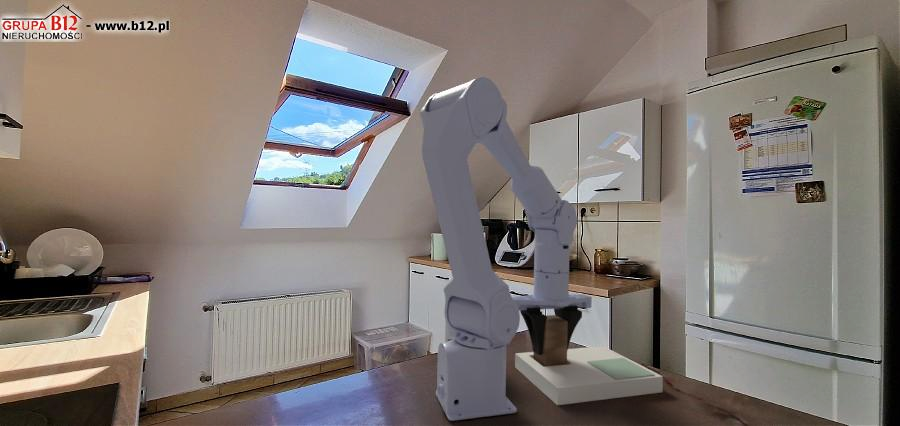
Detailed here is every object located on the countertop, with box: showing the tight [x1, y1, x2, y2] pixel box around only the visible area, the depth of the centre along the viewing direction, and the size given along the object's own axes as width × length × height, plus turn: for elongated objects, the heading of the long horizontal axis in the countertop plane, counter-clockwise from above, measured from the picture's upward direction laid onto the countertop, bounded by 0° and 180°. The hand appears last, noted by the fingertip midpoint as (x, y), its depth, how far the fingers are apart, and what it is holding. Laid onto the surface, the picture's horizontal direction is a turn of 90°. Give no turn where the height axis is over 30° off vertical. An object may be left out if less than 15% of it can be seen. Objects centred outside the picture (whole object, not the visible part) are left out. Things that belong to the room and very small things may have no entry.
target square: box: [587, 358, 655, 380], centre depth 62 cm, size 7×7×1 cm
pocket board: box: [514, 345, 664, 406], centre depth 63 cm, size 18×14×2 cm
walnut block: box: [533, 314, 568, 367], centre depth 65 cm, size 4×4×9 cm
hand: (549, 351), depth 65 cm, fingers closed on walnut block, 4 cm apart
